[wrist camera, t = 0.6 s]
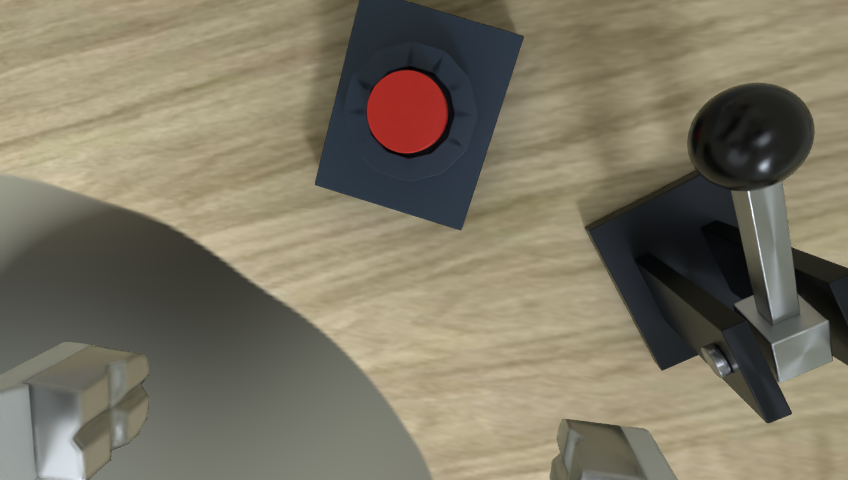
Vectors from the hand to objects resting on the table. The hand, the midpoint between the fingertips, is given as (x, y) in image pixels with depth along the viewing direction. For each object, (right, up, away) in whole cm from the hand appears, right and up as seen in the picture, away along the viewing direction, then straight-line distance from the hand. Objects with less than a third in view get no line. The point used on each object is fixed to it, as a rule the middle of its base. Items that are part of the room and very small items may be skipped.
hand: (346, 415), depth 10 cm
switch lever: (+14, +4, +9) cm, 17 cm away
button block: (+1, +11, +20) cm, 23 cm away
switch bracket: (+17, +2, +20) cm, 27 cm away
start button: (+1, +10, +17) cm, 19 cm away
